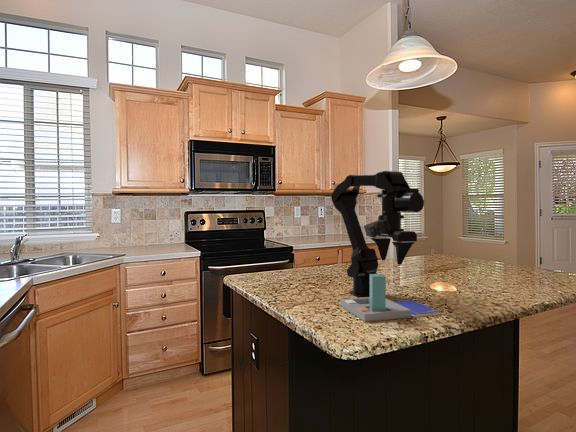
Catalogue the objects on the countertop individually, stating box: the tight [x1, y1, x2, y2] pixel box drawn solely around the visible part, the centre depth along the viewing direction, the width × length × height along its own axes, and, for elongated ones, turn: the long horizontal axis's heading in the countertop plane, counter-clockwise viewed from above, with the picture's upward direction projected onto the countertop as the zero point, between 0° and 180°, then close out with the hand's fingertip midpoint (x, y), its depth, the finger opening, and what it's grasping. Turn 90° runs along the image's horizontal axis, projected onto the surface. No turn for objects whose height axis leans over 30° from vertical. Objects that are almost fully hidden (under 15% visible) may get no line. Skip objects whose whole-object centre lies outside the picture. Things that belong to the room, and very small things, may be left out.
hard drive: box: [394, 300, 441, 318], centre depth 107 cm, size 2×8×12 cm
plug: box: [369, 273, 387, 312], centre depth 101 cm, size 4×4×11 cm
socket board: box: [339, 296, 412, 323], centre depth 105 cm, size 16×14×2 cm
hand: (391, 262), depth 113 cm, fingers open, 9 cm apart
